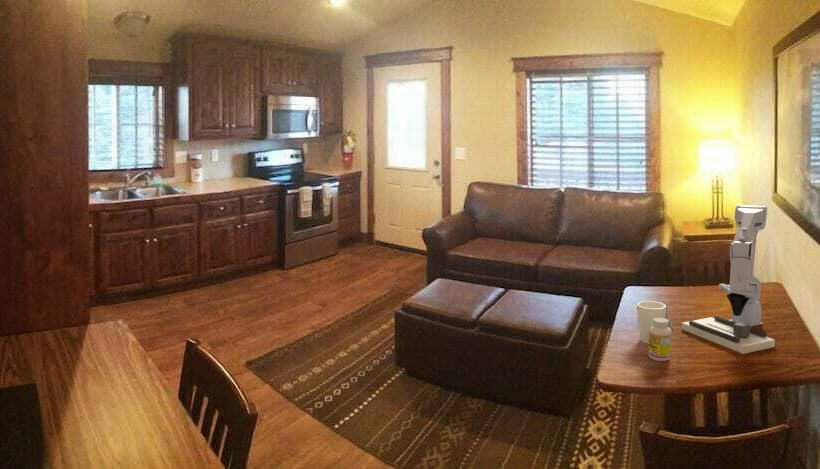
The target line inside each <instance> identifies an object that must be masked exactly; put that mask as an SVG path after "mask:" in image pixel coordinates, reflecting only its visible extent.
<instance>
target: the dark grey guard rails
mask: <svg viewBox="0 0 820 469" xmlns="http://www.w3.org/2000/svg"><path fill="white" fill-rule="evenodd" d="M713 318H714V319H715V320H717V321H720V322H722V323H725V324H728V325H731V326H734V324H736V322H733V321H730V320H731V319H727V318H724V317H721V316H719V315H715V316H714V317H713ZM688 322H689V325H692V326H694V327H697V328H699V329H702V330H705V331H707V332H710V333H712V334H715V335H718V336H720V337H723V338H726V339H728V340H731V341H733V342H736V343H739V342H740V339H739V338H736V337H734V336H731V335H728V334H726V333H723V332H720V331H718V330H715V329H712V328H710V327H707V326H704V325H702V324H699V323H696V322H694V320H689V321H688ZM750 332H751V333H753V334H756V335H759V336H762V337H768V333H767V332H765V331H762V330H759V329H756V328H753V327H750Z"/></svg>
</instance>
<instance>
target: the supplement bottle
mask: <svg viewBox="0 0 820 469" xmlns="http://www.w3.org/2000/svg"><path fill="white" fill-rule="evenodd" d="M653 324H654V325H653V326H651V327H650V329H649V344H648V358H650V359H651V360H653V361H658V362H666V361H669V360H670V359H671V354H672V334H673V331H671V329H670V328H669V327H668V325H669V320H668V319H665V318H654V319H653Z"/></svg>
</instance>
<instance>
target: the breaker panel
mask: <svg viewBox="0 0 820 469" xmlns="http://www.w3.org/2000/svg"><path fill="white" fill-rule="evenodd" d="M693 321H694V322H696V323H699V324H702V325H704V326H707V327H710V328H712V329H715V330H718V331H720V332H723V333H726V334H728V335H731V336H734V335H733V330H734V326H731V325H728V324H725V323H722V322H720V321H717V320H715V319H714V317H711V316H710V317H706V318H704V317H703V318H699V319H694V320H693ZM681 330H682V331H685V332H687V333H690V334H692V335H695V336H698V337H700V338H702V339H705V340H707V341H710V342H712V343H715V344H717V345H720V346H722V347H725V348H727V349H730V350H732V351H735V352H737V353H739V354H742V355H744V354H749V353H752V352H758V351H763V350H766V349H771V348H775V344H776V340H775V339H774V338H771V337H768V336H766V337H762V336H759V335H756V334H753V333H751V332H750V336H747V337H743V338H740V337H737V336H734V337H736V338H739V339H740V342H739V343H736V342H733V341H731V340H728V339H726V338H723V337H720V336H718V335H715V334H712V333H710V332H707V331H705V330H702V329H699V328H697V327H694V326H692V325H689V321H684V322H681Z"/></svg>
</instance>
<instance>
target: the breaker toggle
mask: <svg viewBox="0 0 820 469" xmlns="http://www.w3.org/2000/svg"><path fill="white" fill-rule="evenodd" d="M750 328H751V327H750V324H747V323H744V322H741V323H736V324H734V330H733V335H734V336H737V337H740V338H743V337H747V336H750Z"/></svg>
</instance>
